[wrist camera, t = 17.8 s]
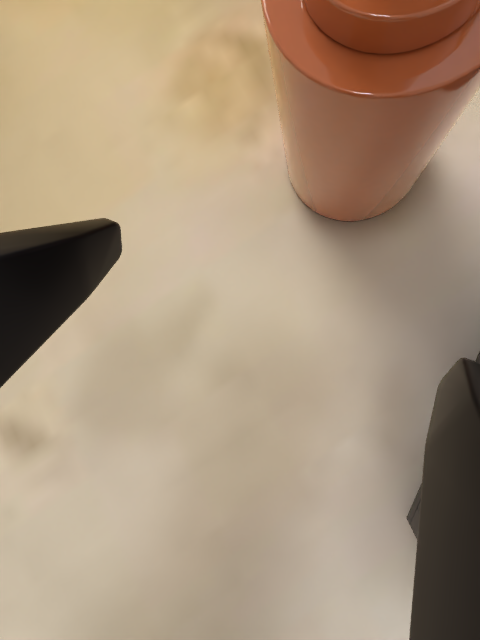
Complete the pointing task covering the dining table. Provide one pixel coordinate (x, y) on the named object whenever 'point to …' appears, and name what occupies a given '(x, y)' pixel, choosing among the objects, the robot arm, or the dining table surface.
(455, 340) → the dining table surface
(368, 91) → the bottle
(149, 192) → the dining table surface
